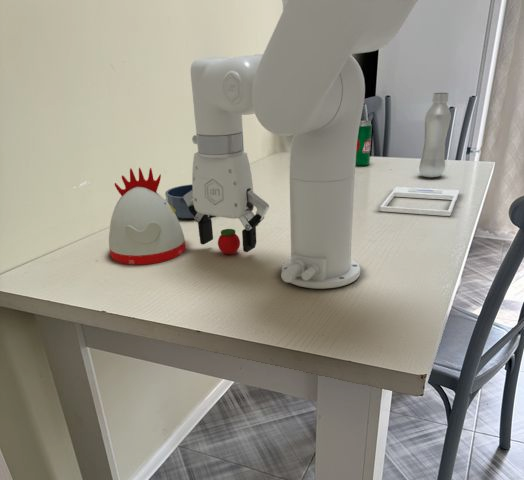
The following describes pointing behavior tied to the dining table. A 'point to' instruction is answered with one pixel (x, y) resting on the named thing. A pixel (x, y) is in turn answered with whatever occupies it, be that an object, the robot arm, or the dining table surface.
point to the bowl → (179, 201)
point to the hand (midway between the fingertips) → (227, 245)
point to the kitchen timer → (144, 224)
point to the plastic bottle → (435, 137)
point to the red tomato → (228, 241)
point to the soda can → (363, 143)
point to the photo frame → (421, 194)
